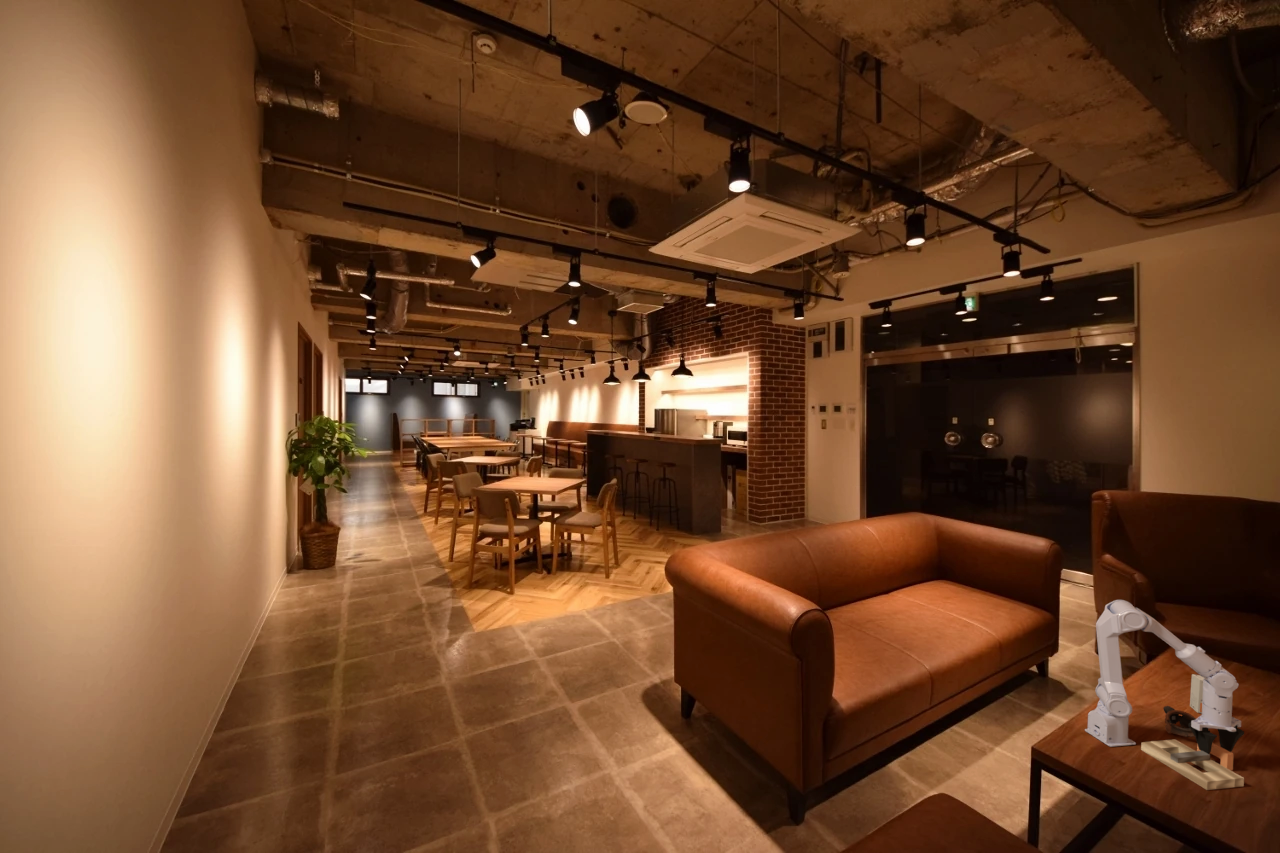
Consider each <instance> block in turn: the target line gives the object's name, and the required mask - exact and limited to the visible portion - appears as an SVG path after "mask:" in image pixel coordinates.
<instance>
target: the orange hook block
mask: <svg viewBox="0 0 1280 853" xmlns="http://www.w3.org/2000/svg"><path fill="white" fill-rule="evenodd" d="M1196 751H1201V750H1199V747H1198V744H1197V746H1196ZM1210 755H1213V756H1214V757H1216V758H1218V759H1220V763H1219V764H1220V765H1222V766H1224V767H1225V768H1227V769H1229V770H1231V771H1233V770H1234V753H1233V752H1229V751H1227V750H1226V749H1224V748H1222V747H1221V746H1220V745H1217V744H1216V743H1214V742H1213V743H1212V747H1211V752H1210Z"/></svg>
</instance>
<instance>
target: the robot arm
mask: <svg viewBox="0 0 1280 853" xmlns="http://www.w3.org/2000/svg"><path fill="white" fill-rule="evenodd" d="M1095 630H1096V640H1097V652H1098V662H1099V672H1100V677H1099V678H1098V679H1097V682H1098V684H1097V685H1096V687H1095V695H1096V696H1097V697H1098V699H1099V700H1098V702H1097V705H1096V708H1094V709H1093V710H1090V711H1089V712H1088V714H1087V728H1085V729H1084V731H1085V733H1088V734H1089V735H1091V736H1092V737H1094V738H1096V740H1099V741H1100V742H1102V743H1104V744H1105V745H1107V746H1108V747H1111V748H1112V747H1121V746H1123V747H1124V746H1133V745H1136V744H1137V743H1136V742H1135V741H1134V740H1132V739H1130V738H1129V716H1130V715H1131V714H1132V713H1133V707H1132V704H1131V703H1130V702H1129V700H1128V695H1127V692H1126V689H1125V687H1124V683H1123V682H1124V681H1123V680H1124V679H1123V671H1122V661H1121V660H1122V659H1121V652H1120V651H1121V650H1120V642H1119V640H1120V639H1119V637H1120V635H1123V634H1124V633H1128V632H1135V631H1140V630H1141V631H1142V632H1146V633H1152V634H1154V635H1155V636H1157V638H1159V639H1161V640H1162V641H1164V643H1166V644H1168V645H1169V646H1170V647H1171V648H1172V649H1174V654H1175V656H1176V657H1177V658H1178V659H1179V660H1181V662H1183V663H1184V664H1185V665H1186V666H1188V667H1189V668H1191V669H1192V670H1193V671H1194V672H1196V674H1197V675H1200V676H1202V677H1204V678H1205V679H1206V680H1205V679H1203V697H1202V713H1201V715H1199V716H1198V717H1197V718H1196V720H1192V721H1191V723H1189V728H1190V729H1191V731H1192V732H1193V734H1194V737H1195V740H1196V743H1197V744H1198V747H1199V750H1201V751H1204V752H1206V753H1208V754H1209V755H1211V753H1210V752H1211V747H1212V743H1214V741H1215V739H1216V738H1218V736H1219V739H1218V740H1219V746H1220V747H1222V748H1224V749H1226V750H1227V751H1229V752H1231V753H1233V750H1234V748H1235V745H1236V743H1237V742H1238V740H1240V739H1241V737H1242V736H1244V735H1245V731H1244V730H1243V729H1241V727H1242V720H1240V719H1238V718H1235V717H1233V716H1232V715H1233V714H1232V713H1233V693H1234V691H1236V690H1237V689H1238V688H1239V683H1238V682H1237V680H1236V677H1235V676H1234V675H1233V674H1232V673H1230V672H1229V671H1228V670H1227V669H1225V668H1224V666H1222V664H1221V663H1220V662H1219V661H1218V660H1214V659H1213V658H1211V657H1210V656H1209V655H1208V654H1206V650H1204V649H1203V648H1202V647H1201V646H1196V645H1195V644H1191V643H1185V642H1183V641H1182V640H1181V639H1180V638H1178V637H1177V636H1176V635H1174V633H1172V632H1171V631H1170V630H1168V629H1167V628H1166V627H1165V626H1163V625H1162V624H1161V623H1160V622H1159V621H1157V620H1156V619H1155V618H1154V617H1152V616H1151V615H1149V614H1148V613H1146V612H1145V611H1143V610H1141V609H1140V608H1138V607H1135V606H1133V604H1132V602H1129V601H1127V600H1124V599H1114V600H1113V601H1110V602H1109V603H1107V604H1105V606H1104V610H1103V612H1102V613H1101V615H1100V616H1099V618H1098V619H1097V620H1096V623H1095ZM1209 729H1216V730H1217V732H1218V735H1217V734H1214V733H1213V732H1211V731H1210V730H1209Z"/></svg>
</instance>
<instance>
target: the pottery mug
mask: <svg viewBox="0 0 1280 853" xmlns="http://www.w3.org/2000/svg"><path fill="white" fill-rule="evenodd" d="M1162 709H1163V711H1164V713H1165V718H1164V722H1165V727H1164V729H1165V731H1166V732H1167V733H1168V734H1169V735H1170V734H1174V735H1178V736H1181V737H1186V738H1188V737H1191V738H1193V737H1195V736H1194V734H1193V732H1192V731H1191V729H1190V728H1189V723H1191V721H1192V720H1196V719H1197V718H1196V717H1195V716H1193V715H1192V714H1190V713H1189V712H1187V711H1184V710H1180V709H1179V710H1177V709H1175V708H1173V707H1172V706H1170V705H1165V706H1163V708H1162ZM1178 722H1179V726H1178V725H1177V724H1178Z"/></svg>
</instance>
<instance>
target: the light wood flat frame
mask: <svg viewBox="0 0 1280 853" xmlns="http://www.w3.org/2000/svg"><path fill="white" fill-rule="evenodd" d="M1140 745H1141V747H1140V750H1141V751H1142V752H1144V753H1145V754H1147V755H1148V756H1150V757H1152V758H1153V759H1155V760H1157V761H1159V762H1160V763H1162V764H1164V765H1166V767H1169V768H1170V769H1172V770H1174V772H1176V773H1178V774H1180V775H1181V776H1183V777H1185V778H1186V779H1189V781H1191V782H1193V783H1195V784H1197V785H1198V786H1200V787H1202V788H1203V789H1204V790H1206V791H1210V790H1212V791H1213V790H1221V789H1230V788H1239V787H1245V785H1244V784H1245V778H1244V776H1241V775H1239V773H1236V772H1234V771H1233V770H1229V769H1227V768H1225V767H1224V766H1222V765H1220V763H1218V762H1216V761H1215V760H1214V759H1213V760H1212V759H1211V754H1208V753H1206V752H1204V751H1197V750H1195V749H1193V748H1191V747H1190V746H1188V745H1186V744H1184V743H1183V742H1180V741H1179V740H1177V739H1165V740H1151V741H1143V742H1142V741H1141V744H1140ZM1189 763H1192V764H1194V765H1195V766H1198V767H1199V768H1200V769H1202V770H1204V771H1205V772H1202V771H1200V770H1199V769H1197V768H1196V767H1194V766H1192V765H1191V764H1189Z"/></svg>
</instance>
